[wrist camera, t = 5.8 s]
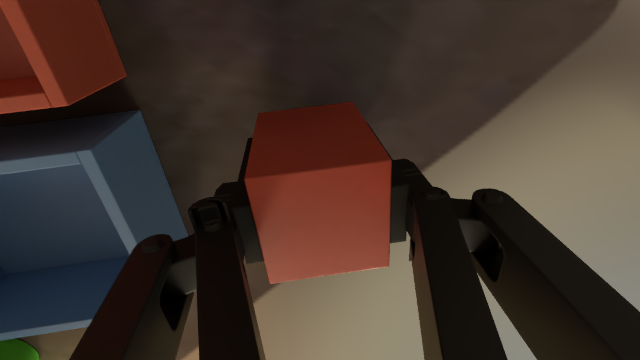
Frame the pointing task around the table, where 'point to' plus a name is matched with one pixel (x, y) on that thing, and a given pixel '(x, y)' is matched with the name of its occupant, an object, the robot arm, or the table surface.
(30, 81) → the red bin
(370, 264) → the red block
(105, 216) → the blue bin
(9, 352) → the cup
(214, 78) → the table surface
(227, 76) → the table surface
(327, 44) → the table surface
